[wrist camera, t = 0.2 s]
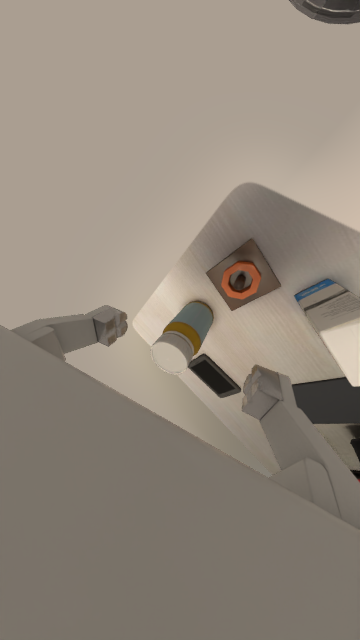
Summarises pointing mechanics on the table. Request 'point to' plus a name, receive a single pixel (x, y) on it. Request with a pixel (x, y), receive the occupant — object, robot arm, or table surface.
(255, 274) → the ring
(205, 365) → the cell phone
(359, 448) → the camera
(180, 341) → the bottle
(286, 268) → the table surface
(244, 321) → the table surface
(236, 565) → the robot arm
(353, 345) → the ink box
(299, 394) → the mat
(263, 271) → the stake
